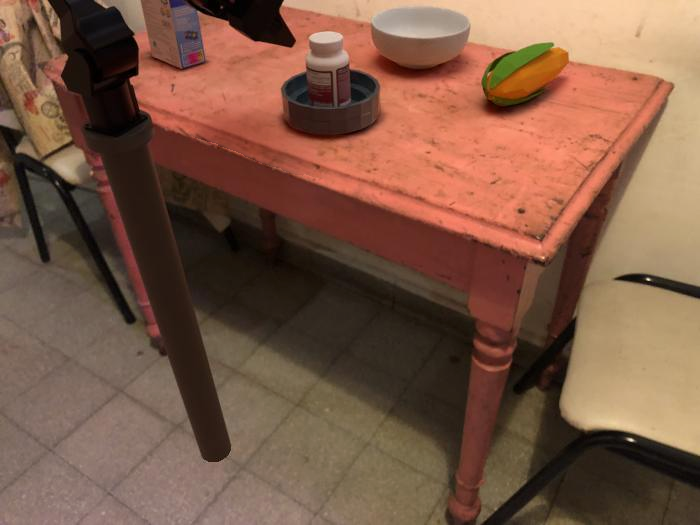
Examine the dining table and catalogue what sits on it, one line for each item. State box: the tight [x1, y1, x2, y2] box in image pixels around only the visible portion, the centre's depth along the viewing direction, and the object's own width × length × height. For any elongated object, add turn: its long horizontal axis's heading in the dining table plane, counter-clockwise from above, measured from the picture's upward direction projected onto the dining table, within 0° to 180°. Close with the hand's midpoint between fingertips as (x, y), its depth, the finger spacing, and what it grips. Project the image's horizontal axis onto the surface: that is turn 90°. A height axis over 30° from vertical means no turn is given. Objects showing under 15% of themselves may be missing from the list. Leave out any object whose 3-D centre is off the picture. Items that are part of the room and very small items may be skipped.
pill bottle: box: [305, 30, 351, 107], centre depth 84 cm, size 6×6×11 cm
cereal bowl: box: [370, 5, 471, 70], centre depth 101 cm, size 17×17×7 cm
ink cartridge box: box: [140, 0, 207, 70], centre depth 102 cm, size 10×6×14 cm, turn 47°
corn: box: [480, 41, 570, 107], centre depth 90 cm, size 7×8×20 cm
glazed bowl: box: [280, 68, 381, 136], centre depth 86 cm, size 14×14×4 cm
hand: (274, 34), depth 76 cm, fingers open, 9 cm apart
